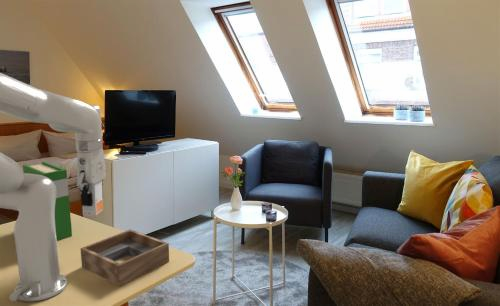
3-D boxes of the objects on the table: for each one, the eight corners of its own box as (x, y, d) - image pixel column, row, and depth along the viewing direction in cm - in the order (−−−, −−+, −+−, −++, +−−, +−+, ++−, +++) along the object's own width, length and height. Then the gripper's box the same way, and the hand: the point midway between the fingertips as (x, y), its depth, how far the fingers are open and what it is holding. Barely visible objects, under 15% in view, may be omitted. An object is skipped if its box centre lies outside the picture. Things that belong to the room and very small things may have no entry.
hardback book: (29, 228, 149) (22, 165, 144) (50, 223, 155) (44, 161, 150) (50, 242, 138) (43, 173, 133) (72, 236, 143) (66, 169, 138)
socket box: (169, 261, 125) (168, 243, 124) (120, 286, 111) (118, 266, 110) (131, 246, 136) (130, 229, 134) (81, 267, 121) (80, 248, 120)
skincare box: (96, 216, 125) (94, 178, 123) (82, 216, 125) (80, 178, 123) (103, 209, 131) (101, 173, 129) (90, 209, 131) (88, 173, 129)
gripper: (87, 151, 115) (90, 211, 119) (113, 141, 132) (115, 194, 136) (62, 150, 116) (66, 210, 120) (91, 140, 133) (94, 193, 136)
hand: (92, 201), depth 128 cm, fingers closed on skincare box, 6 cm apart
